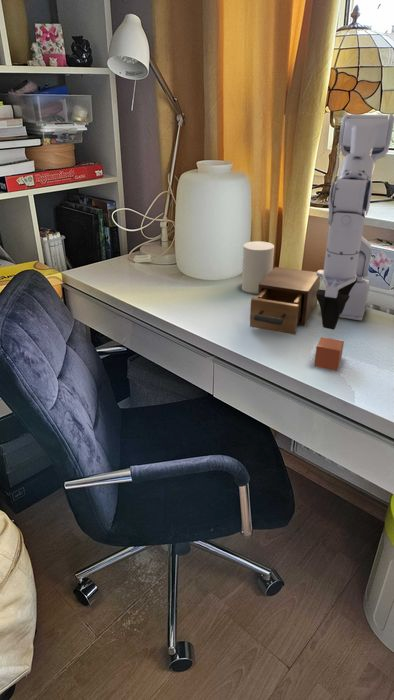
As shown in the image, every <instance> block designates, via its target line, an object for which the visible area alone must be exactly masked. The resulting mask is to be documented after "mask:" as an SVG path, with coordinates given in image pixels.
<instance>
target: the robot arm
mask: <svg viewBox="0 0 394 700" xmlns="http://www.w3.org/2000/svg"><path fill="white" fill-rule="evenodd" d="M393 129H394V114H393V113H389V114H350V113H345V115H344V116H343V117H342V118H341V125H340V131H339V143H338V144H339V147H340V152H341V156H343V157H344V158H342V161H341V162H340V167H339V171H338V174H337V178H336V181H332V183H331V186H330V190H329V197H328V219H327V225H329V226H328V233H327V240H326V248H325V255H324V262H323V263H324V264H323V269H318V270H317V271H316V272H317V273H316V276H318V277H320V278H322V281H323V283H324V285H325V289H320V288H319V289H318V291H317V292H316V297H317V303H318V304H319V309H320V312H321V323H322V328H323V329H328V330H333V331H334V330H335V329H336V327H337V325H338V322H339V319H340V318H343V319H349V320H354V321H362V320H363V318H364V316H365V312H366V311H367V308H368V297H369V290H370V285H371V280H369V279H366V278H367V277H368V276H369V269H370V264H371V257H372V249H373V246H372V243H371V242H370V241H368V240H367V239H366V238H365V237H364V236H363V233H364V225H365V219H366V216H368V213H369V210H370V203H371V199H372V192H373V175H374V170H375V164H376V162H377V160H380V159H382V158H385V157H387V154H388V153H389V149H390V146H391V142H392V135H393Z"/></svg>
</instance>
